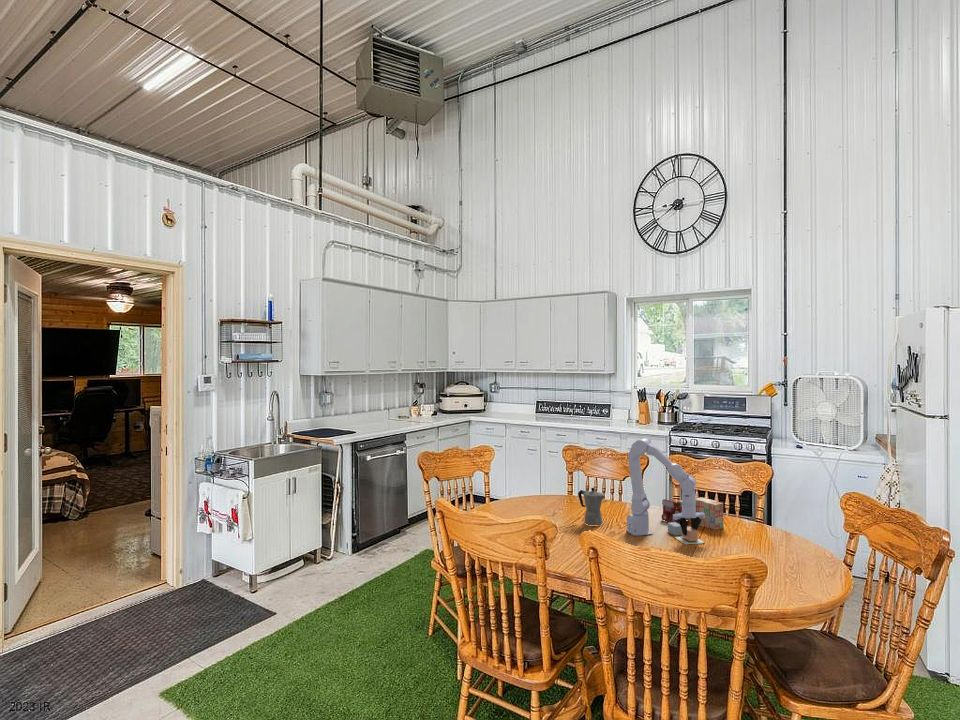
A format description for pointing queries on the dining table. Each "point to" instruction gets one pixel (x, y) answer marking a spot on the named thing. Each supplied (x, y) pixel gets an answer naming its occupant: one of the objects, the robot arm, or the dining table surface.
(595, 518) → the coffeepot
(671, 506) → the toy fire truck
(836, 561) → the dining table surface
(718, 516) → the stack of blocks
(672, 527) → the slate brick
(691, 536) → the terracotta brick
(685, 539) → the baseplate
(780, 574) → the dining table surface
